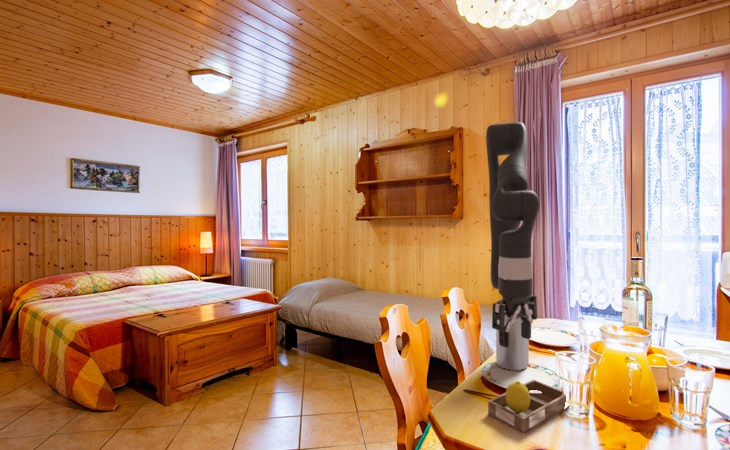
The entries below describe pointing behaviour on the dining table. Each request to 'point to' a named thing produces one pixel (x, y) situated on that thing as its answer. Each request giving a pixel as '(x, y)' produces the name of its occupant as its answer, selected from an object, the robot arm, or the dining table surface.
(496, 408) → the tray
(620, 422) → the dining table surface
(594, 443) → the dining table surface
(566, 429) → the dining table surface
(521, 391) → the lemon
